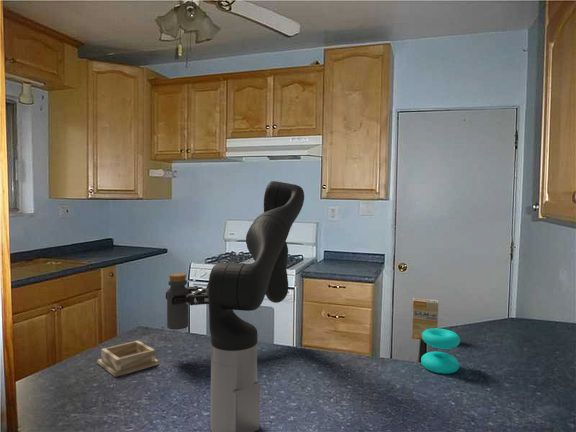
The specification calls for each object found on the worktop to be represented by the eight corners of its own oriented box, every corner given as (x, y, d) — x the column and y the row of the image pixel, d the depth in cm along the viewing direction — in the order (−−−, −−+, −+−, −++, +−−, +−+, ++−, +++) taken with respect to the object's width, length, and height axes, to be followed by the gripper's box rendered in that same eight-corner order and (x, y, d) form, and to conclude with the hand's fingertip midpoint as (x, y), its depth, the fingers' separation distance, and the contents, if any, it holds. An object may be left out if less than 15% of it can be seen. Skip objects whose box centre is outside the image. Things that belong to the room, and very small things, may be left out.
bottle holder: (158, 364, 115) (158, 350, 115) (115, 377, 107) (115, 361, 107) (139, 352, 124) (139, 339, 124) (97, 363, 115) (97, 348, 115)
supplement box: (411, 339, 140) (412, 300, 139) (411, 334, 144) (412, 297, 144) (437, 341, 137) (438, 302, 137) (436, 337, 142) (437, 299, 141)
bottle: (165, 325, 121) (165, 273, 120) (186, 322, 124) (186, 272, 123) (168, 330, 116) (168, 277, 115) (190, 328, 118) (190, 275, 118)
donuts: (414, 329, 118) (439, 325, 123) (413, 364, 118) (438, 358, 123) (442, 340, 109) (468, 335, 114) (440, 378, 110) (467, 371, 114)
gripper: (216, 275, 132) (162, 280, 124) (234, 284, 120) (175, 290, 112) (216, 299, 133) (162, 305, 125) (233, 310, 120) (175, 317, 112)
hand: (168, 298), depth 118 cm, fingers closed on bottle, 5 cm apart
